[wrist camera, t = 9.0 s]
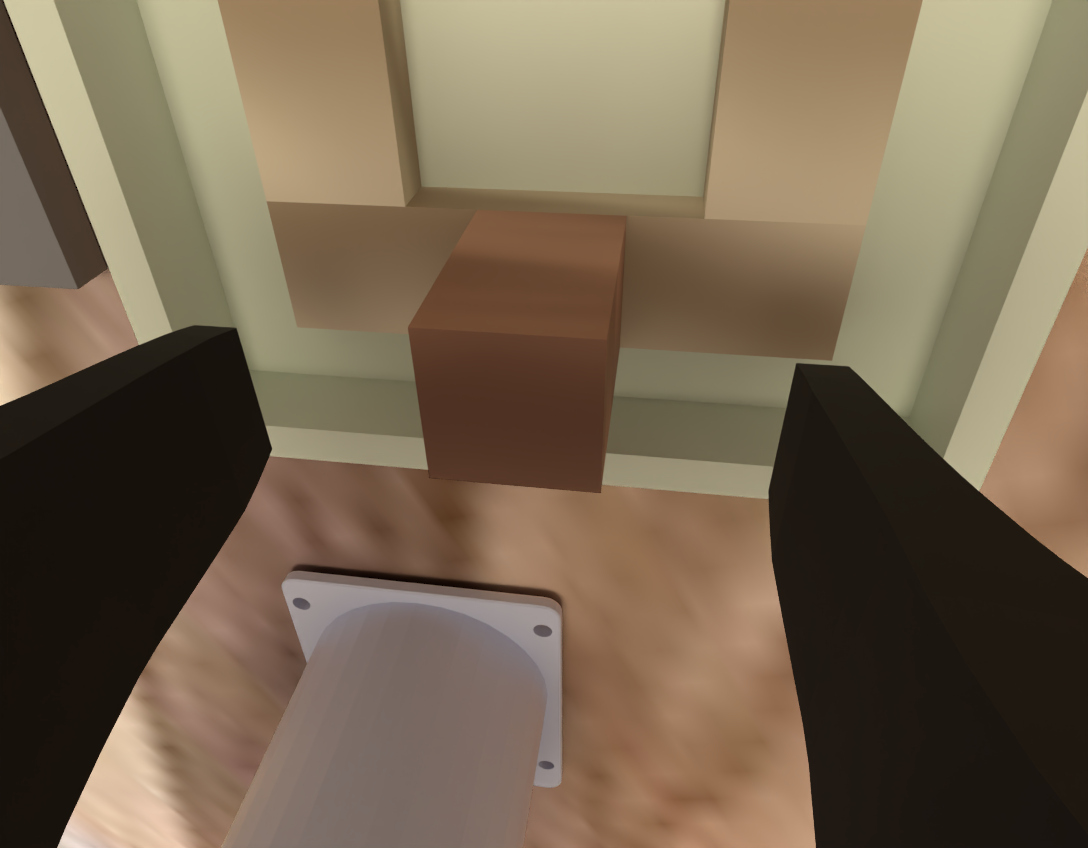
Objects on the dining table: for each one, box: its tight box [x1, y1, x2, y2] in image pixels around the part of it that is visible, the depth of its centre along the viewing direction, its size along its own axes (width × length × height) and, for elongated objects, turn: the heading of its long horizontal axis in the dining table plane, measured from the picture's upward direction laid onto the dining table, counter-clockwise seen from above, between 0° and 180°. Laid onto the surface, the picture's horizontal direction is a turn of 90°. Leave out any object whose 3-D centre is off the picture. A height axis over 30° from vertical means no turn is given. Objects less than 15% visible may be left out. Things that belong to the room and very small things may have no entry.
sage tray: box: [3, 0, 1088, 499], centre depth 11 cm, size 16×16×2 cm
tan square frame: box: [218, 0, 923, 493], centre depth 10 cm, size 10×10×5 cm
